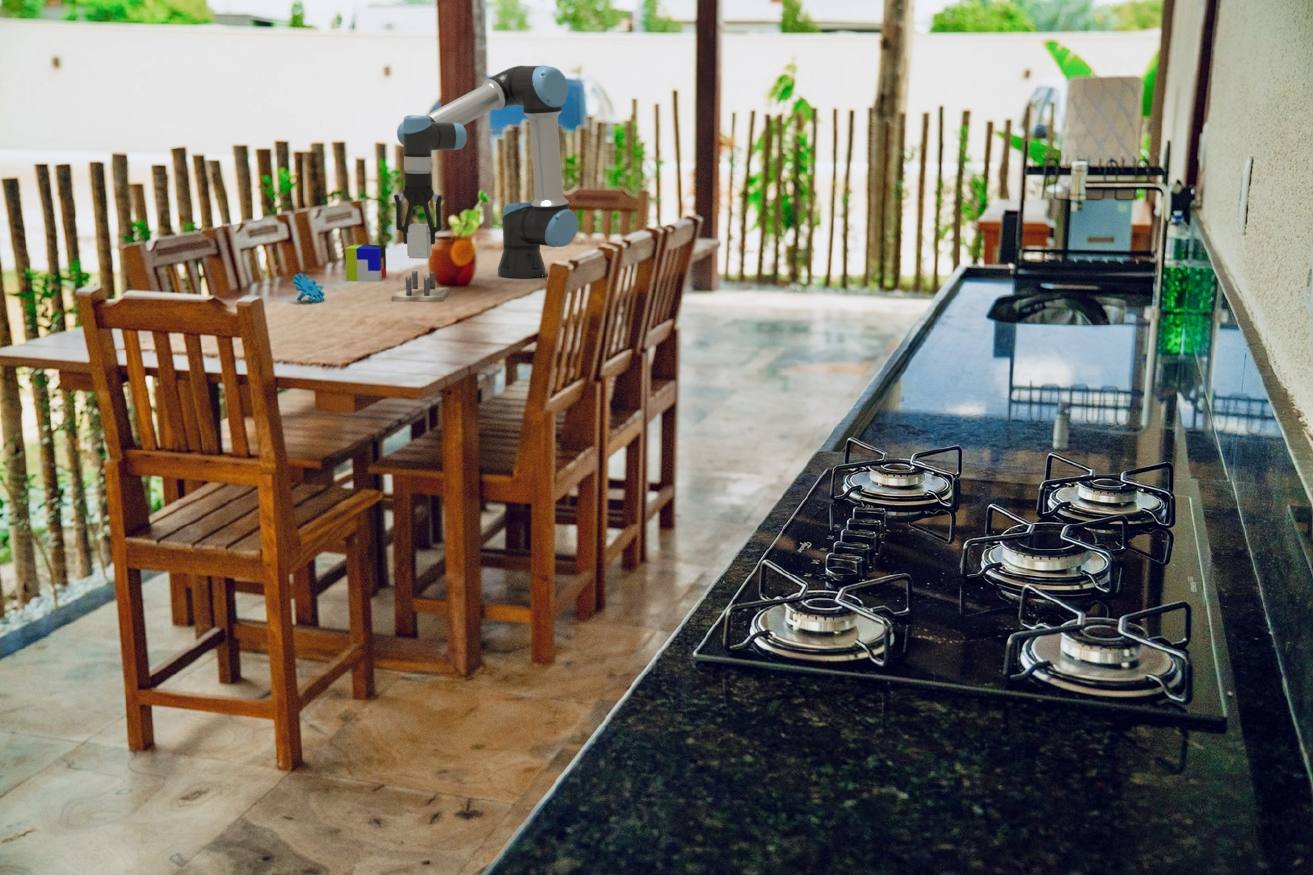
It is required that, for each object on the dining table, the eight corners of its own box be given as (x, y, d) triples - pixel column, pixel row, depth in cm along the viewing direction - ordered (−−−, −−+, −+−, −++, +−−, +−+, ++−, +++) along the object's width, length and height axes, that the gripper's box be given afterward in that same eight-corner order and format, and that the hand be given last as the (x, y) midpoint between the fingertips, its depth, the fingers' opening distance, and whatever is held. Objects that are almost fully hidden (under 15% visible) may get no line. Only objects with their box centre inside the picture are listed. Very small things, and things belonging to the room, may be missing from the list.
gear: (308, 299, 358) (289, 271, 360) (295, 313, 360) (276, 285, 362) (335, 299, 367) (316, 272, 370) (322, 313, 370) (304, 286, 372)
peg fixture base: (449, 291, 386) (448, 270, 385) (442, 301, 369) (441, 279, 367) (401, 291, 386) (400, 270, 384) (391, 300, 368) (390, 278, 367)
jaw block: (430, 255, 378) (429, 224, 375) (426, 258, 371) (426, 226, 369) (412, 255, 378) (411, 223, 375) (409, 258, 371) (408, 226, 368)
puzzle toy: (379, 281, 403) (378, 249, 401) (346, 281, 403) (345, 248, 401) (386, 277, 413) (385, 245, 410) (354, 276, 413) (353, 244, 411)
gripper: (452, 172, 372) (453, 255, 378) (387, 170, 372) (389, 253, 377) (449, 173, 365) (450, 258, 371) (383, 172, 364) (385, 256, 370)
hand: (419, 255), depth 374 cm, fingers closed on jaw block, 5 cm apart
